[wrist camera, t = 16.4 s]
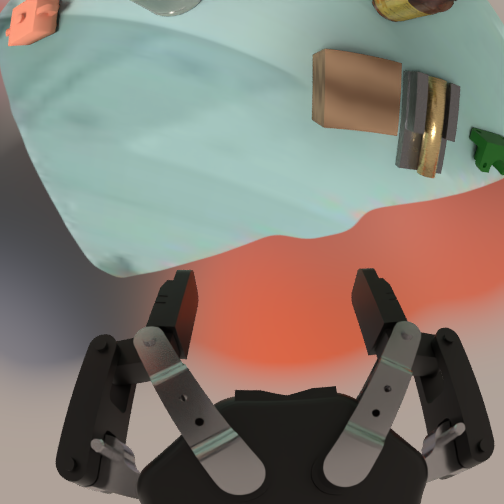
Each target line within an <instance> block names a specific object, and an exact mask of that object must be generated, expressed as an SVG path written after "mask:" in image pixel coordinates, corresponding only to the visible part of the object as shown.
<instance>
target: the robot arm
mask: <svg viewBox="0 0 504 504" xmlns="http://www.w3.org/2000/svg"><path fill="white" fill-rule="evenodd" d="M130 1H132V2H134V3H136V4H138V5H140V6H142V7H143V8H145V9H147V10H149V11H151V12H152V13H154V14H156V15H160V16H176V15H180V14H183V13H185V12H187V11H189V10H191V9H192V8H194V7H195V6H196V5H197V4H198V3H199V2H200V1H201V0H130ZM352 304H353V307H354V310H355V313H356V316H357V320H358V323H359V326H360V329H361V332H362V335H363V339H364V341H365V345H366V348H367V352H368V355H375V354H376V355H377V358H378V359H377V361H376V363H375V364H374V367H373V369H372V371H371V372H370V375H369V376H368V378H367V380H366V382H365V384H364V386H363V388H362V390H361V391H360V393H359V395H358V396H357V398H356V399H355V398H352V397H350V396H348V395H345V394H341V393H337V391H336V386H333V387H322V388H311V389H308V390H305V391H301V392H298V393H295V394H291V395H281V394H275V393H270V392H265V391H261V390H235V397H230V398H227V399H224V400H222V401H220V402H218V403H216V404H214V405H213V403H212V402H211V401H210V399H209V398H208V397H207V395H206V394H205V392H204V391H203V390H202V388H201V387H200V385H199V384H198V382H197V381H196V379H195V378H194V377H193V375H192V374H191V372H190V371H189V369H188V368H187V367H186V365H185V364H183V363H182V362H181V360H180V359H187V355H188V349H189V345H190V340H191V335H192V331H193V326H194V321H195V316H196V312H197V307H198V292H197V287H196V282H195V276H194V272H193V270H177V272H176V275H175V277H174V280H167V281H166V282H165V283H164V284H163V285H162V287H161V288H160V290H159V293H158V297H157V298H156V301H155V304H154V306H153V309H152V311H151V314H150V317H149V320H148V323H147V325H146V327H145V328H143V329H141V330H139V331H138V332H137V333H136V335H135V337H134V338H132V339H127V340H121V341H116V340H115V339H114V338H113V337H112V336H111V335H107V334H104V335H99V336H97V337H96V338H94V339H93V340H92V342H91V343H90V345H89V347H88V350H87V353H86V356H85V358H84V361H83V364H82V366H81V370H80V372H79V375H78V378H77V381H76V384H75V387H74V390H73V394H72V397H71V400H70V404H69V407H68V411H67V414H66V418H65V422H64V425H63V429H62V434H61V438H60V442H59V447H58V451H57V456H56V468H57V470H58V472H59V474H60V475H61V476H62V477H63V478H64V479H66V480H68V481H70V482H73V483H76V484H77V485H79V486H82V487H85V488H88V489H91V490H94V491H100V492H103V493H107V494H109V493H110V494H111V493H116V494H120V495H123V496H127V497H132V498H136V499H139V500H140V502H141V504H420V503H421V498H422V494H423V491H424V488H425V485H426V483H427V482H430V481H433V480H435V479H438V478H439V479H447V478H449V477H452V476H454V475H457V474H459V473H461V472H463V471H465V470H468V469H470V468H472V467H474V466H476V465H478V464H480V463H482V462H484V461H486V460H487V459H488V458H489V457H490V456H491V455H492V453H493V450H494V438H493V434H492V430H491V426H490V422H489V418H488V415H487V412H486V408H485V405H484V402H483V398H482V395H481V392H480V390H479V386H478V384H477V381H476V378H475V375H474V373H473V370H472V368H471V365H470V362H469V360H468V357H467V355H466V353H465V350H464V348H463V346H462V343H461V341H460V339H459V337H458V335H457V334H456V333H455V332H454V331H453V330H451V329H449V328H441V329H439V330H438V331H437V333H436V335H432V334H427V333H421V332H420V330H419V328H418V327H417V326H416V325H415V324H413V323H411V322H408V321H407V319H406V317H405V315H404V313H403V310H402V308H401V306H400V304H399V302H398V300H397V298H396V296H395V294H394V292H393V290H392V288H391V286H390V284H389V283H388V282H386V281H385V280H384V279H383V278H379V277H378V275H377V273H376V271H375V270H374V269H373V268H370V269H369V268H367V269H359V270H358V272H357V275H356V279H355V283H354V286H353V290H352ZM412 375H413V376H414V378H415V382H416V386H417V389H418V393H419V397H420V401H421V406H422V410H423V414H424V419H425V423H426V428H427V433H428V435H427V436H426V437H425V439H424V441H423V447H422V454H421V453H420V452H419V451H417V450H416V449H415V448H414V447H412V446H411V445H410V444H409V443H408V442H406V441H405V440H404V439H403V438H402V437H400V436H399V435H398V434H397V433H395V432H394V431H393V430H392V429H391V426H392V423H393V421H394V419H395V417H396V414H397V412H398V410H399V408H400V405H401V403H402V400H403V398H404V395H405V393H406V390H407V388H408V385H409V382H410V380H411V377H412ZM148 381H151V382H152V384H153V386H154V388H155V390H156V392H157V393H158V395H159V397H160V399H161V401H162V402H163V404H164V406H165V408H166V409H167V411H168V413H169V415H170V416H171V418H172V420H173V421H174V423H175V424H176V426H177V428H178V429H179V431H180V432H181V434H182V435H181V436H180V437H179V438H177V439H176V440H175V441H174V442H173V443H172V444H171V445H170V446H169V447H168V448H166V449H165V450H164V451H163V452H162V453H161V454H160V455H158V457H156V458H155V459H154V460H153V461H151V462H150V463H149V464H148V465H147V466H146V467H145V468H144V469H143V470H142V471H141V473H140V472H139V471H138V470H137V468H136V465H135V457H134V454H133V452H132V450H131V449H130V448H129V447H128V446H126V445H125V444H126V437H127V431H128V425H129V419H130V414H131V409H132V403H133V398H134V393H135V389H136V384H137V383H142V382H148Z"/></svg>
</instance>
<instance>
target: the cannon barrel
mask: <svg viewBox="0 0 504 504" xmlns="http://www.w3.org/2000/svg"><path fill="white" fill-rule="evenodd" d="M446 86H447V81H445V80H442V79H439V78H435V77H431V76H429V80H428V99H427V111H426V121H425V130H424V134H423V136H422V144H421V150H420V157H419V163H418V169H417V173H419V174H420V175H423V176H425V177H429V178H435V174H436V169H437V163H438V158H439V152H440V146H441V139H442V131H443V123H444V114H445V102H446Z"/></svg>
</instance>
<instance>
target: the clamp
mask: <svg viewBox="0 0 504 504" xmlns="http://www.w3.org/2000/svg"><path fill="white" fill-rule="evenodd" d="M470 140H472V141H473V142H474V143H475V144H476V145H477V146H478V147H477V150H476V153H475V156H474V159H475V160H476V161H475V164H476V166H477V167H478V168H479V169H480V171H482V172H488V173H489V169H490V167H491V165H493V166H494V167H495V168H496V169H497V170H498V171H499V172H500V174H501V175H504V137H502V136H500V135H497V134H494V133H491V132H487V131H484V130H480V129H477V128H472V131H471V134H470Z"/></svg>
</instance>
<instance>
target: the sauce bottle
mask: <svg viewBox="0 0 504 504" xmlns="http://www.w3.org/2000/svg"><path fill="white" fill-rule="evenodd" d="M454 1H456V0H373V2H372V3H373V6H374V7H375V9H376V10H377V12H378V13H379V14H380V15H381V16H383V17H384V18H386V19H388V20H391V21H395V22H397V21H405V20H409V19H413V18H417V17H422V16H427V15H432V14H436V13H438V12H444V11H447V10H448V9H450V8H451V7H452V5H453V4H454Z"/></svg>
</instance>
